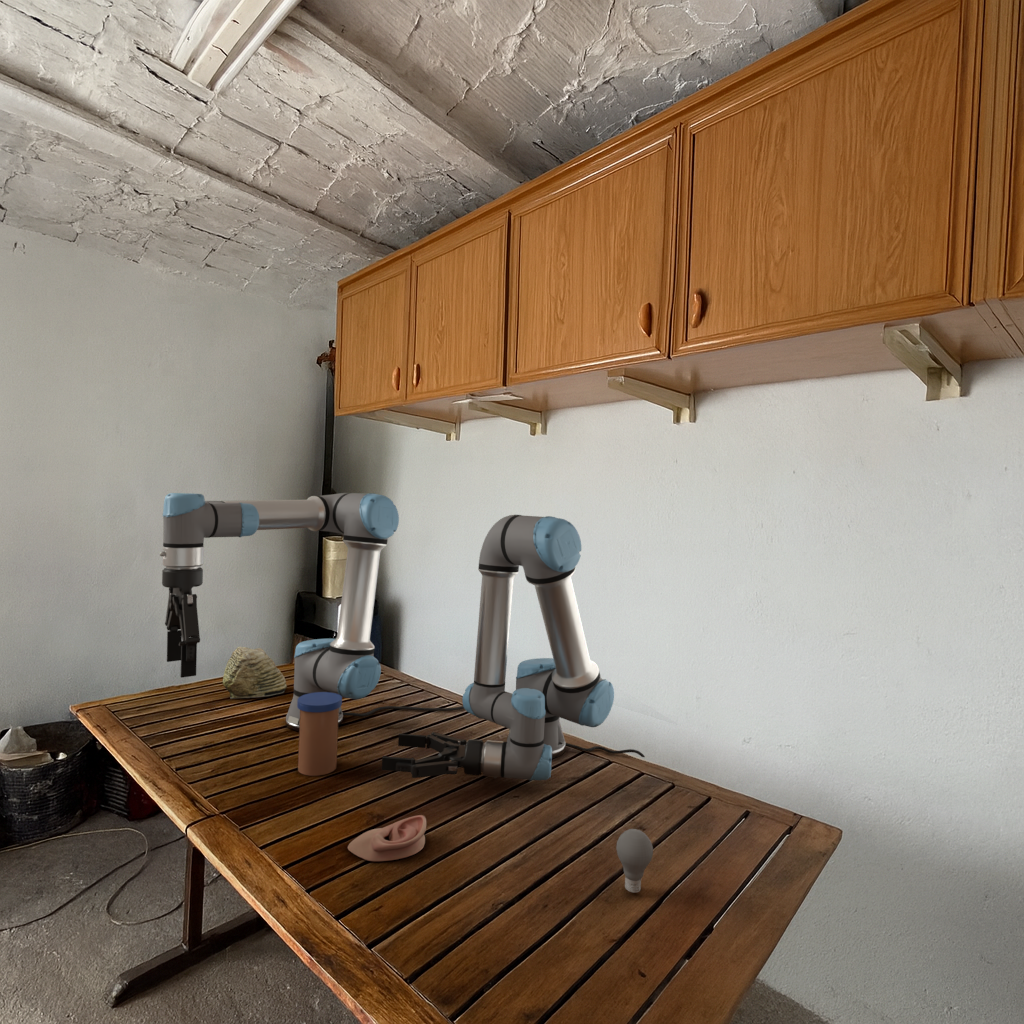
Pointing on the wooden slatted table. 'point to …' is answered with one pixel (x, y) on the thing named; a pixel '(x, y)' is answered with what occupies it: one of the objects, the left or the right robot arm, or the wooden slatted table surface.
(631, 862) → the light bulb
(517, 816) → the wooden slatted table surface
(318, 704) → the lid
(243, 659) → the fossil
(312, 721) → the jar
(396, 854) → the anatomical model
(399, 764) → the right robot arm
